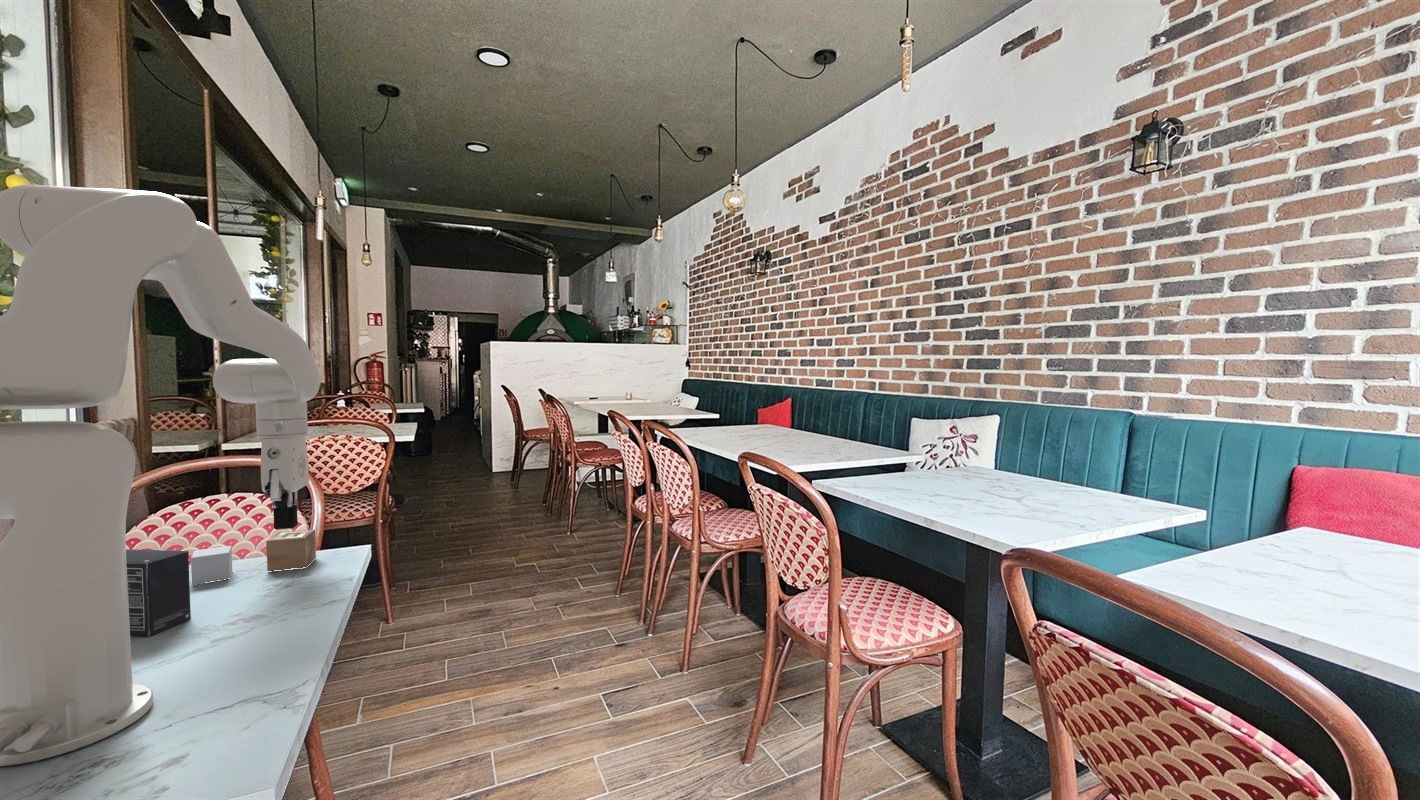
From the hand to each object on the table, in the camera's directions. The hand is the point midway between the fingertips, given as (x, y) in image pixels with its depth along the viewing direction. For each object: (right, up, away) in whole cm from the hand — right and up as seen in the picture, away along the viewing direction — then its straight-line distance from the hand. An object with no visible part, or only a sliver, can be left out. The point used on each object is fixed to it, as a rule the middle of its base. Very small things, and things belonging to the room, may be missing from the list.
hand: (286, 527), depth 107 cm
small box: (-4, -9, -23) cm, 25 cm away
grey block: (-10, -8, -4) cm, 14 cm away
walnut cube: (-1, -2, +3) cm, 4 cm away
